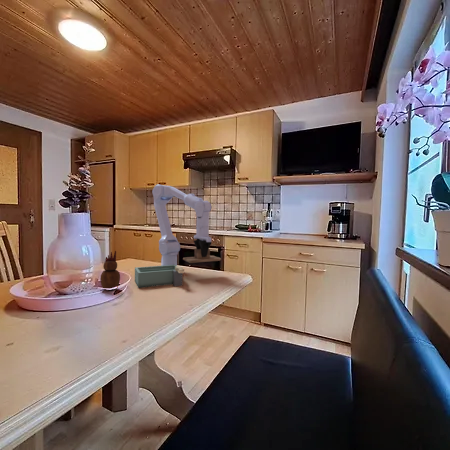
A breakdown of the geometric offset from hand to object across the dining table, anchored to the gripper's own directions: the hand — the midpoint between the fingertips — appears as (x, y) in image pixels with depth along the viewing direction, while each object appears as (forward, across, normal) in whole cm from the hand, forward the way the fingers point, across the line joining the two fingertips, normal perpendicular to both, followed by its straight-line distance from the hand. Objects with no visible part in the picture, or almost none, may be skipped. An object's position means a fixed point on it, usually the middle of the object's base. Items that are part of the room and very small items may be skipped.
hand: (202, 256), depth 120 cm
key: (+4, +9, -14) cm, 17 cm away
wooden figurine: (+10, +1, -39) cm, 40 cm away
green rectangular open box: (+10, 0, -20) cm, 23 cm away
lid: (+2, 0, 0) cm, 2 cm away
